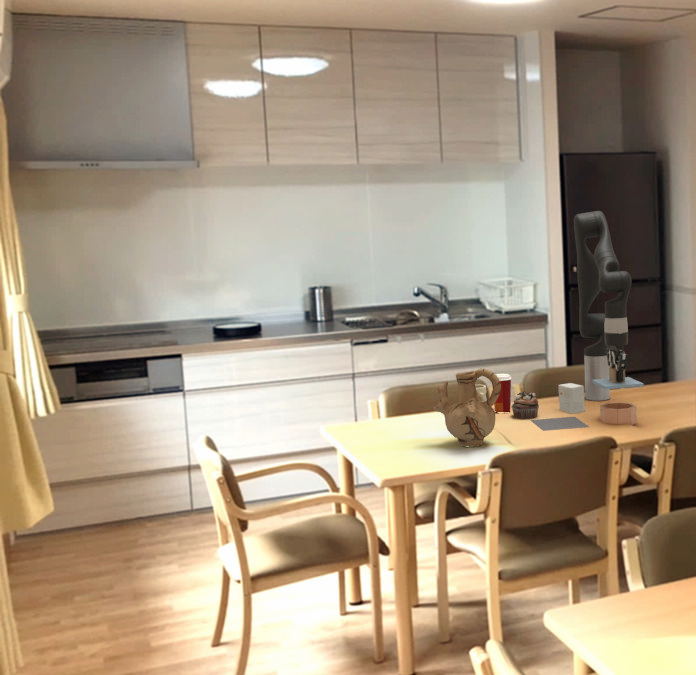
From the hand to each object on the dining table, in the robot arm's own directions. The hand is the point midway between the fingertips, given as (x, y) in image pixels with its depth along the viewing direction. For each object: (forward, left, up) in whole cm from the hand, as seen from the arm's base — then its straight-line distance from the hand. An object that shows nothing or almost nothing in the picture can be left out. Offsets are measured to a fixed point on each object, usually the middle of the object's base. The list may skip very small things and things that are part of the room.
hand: (617, 380), depth 291 cm
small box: (-19, -10, -15) cm, 26 cm away
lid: (0, 0, -1) cm, 1 cm away
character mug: (-18, -45, -15) cm, 51 cm away
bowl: (0, 0, -15) cm, 15 cm away
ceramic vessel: (+11, -54, -15) cm, 57 cm away
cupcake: (-16, -28, -15) cm, 36 cm away
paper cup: (-30, -33, -15) cm, 47 cm away
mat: (-2, -20, -15) cm, 25 cm away
